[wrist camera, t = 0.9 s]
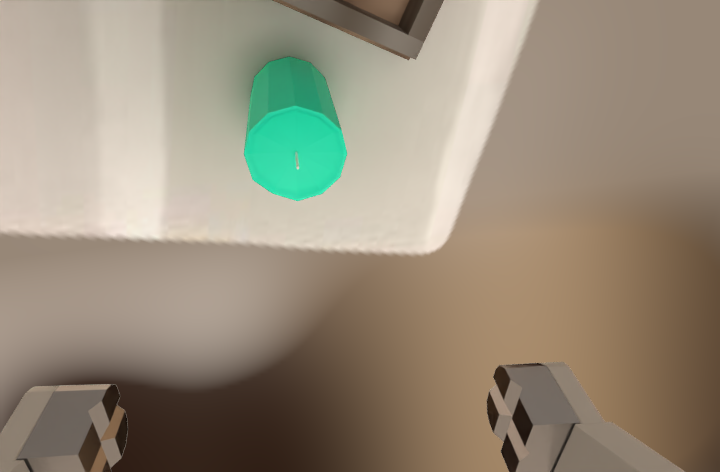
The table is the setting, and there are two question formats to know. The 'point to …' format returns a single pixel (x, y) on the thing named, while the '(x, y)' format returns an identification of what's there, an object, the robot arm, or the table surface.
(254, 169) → the candle
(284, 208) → the table surface
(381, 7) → the holder
